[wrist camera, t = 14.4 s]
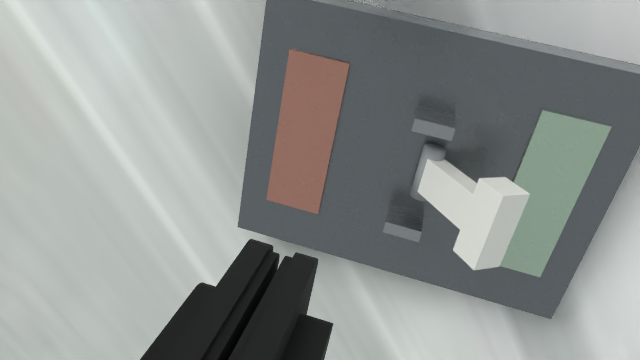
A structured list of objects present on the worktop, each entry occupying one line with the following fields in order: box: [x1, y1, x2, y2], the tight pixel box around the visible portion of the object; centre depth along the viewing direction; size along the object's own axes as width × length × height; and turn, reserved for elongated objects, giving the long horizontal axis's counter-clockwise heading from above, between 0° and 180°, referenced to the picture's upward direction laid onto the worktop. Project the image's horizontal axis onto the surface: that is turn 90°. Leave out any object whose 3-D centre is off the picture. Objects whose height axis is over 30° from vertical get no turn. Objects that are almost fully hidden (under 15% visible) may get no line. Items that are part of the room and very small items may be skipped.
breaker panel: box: [238, 0, 640, 319], centre depth 42 cm, size 30×22×9 cm
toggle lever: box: [410, 144, 530, 270], centre depth 37 cm, size 2×6×10 cm
